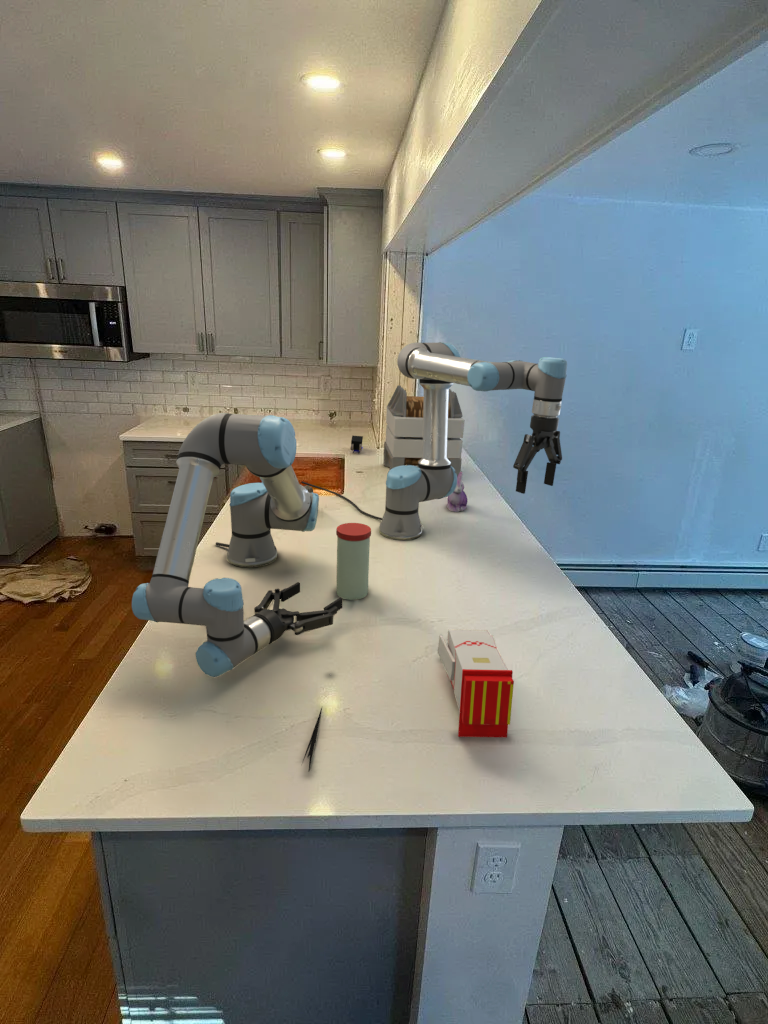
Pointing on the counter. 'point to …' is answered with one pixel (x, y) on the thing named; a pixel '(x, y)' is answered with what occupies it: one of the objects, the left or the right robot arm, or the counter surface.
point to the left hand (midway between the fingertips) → (319, 594)
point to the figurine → (457, 496)
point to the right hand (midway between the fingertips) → (534, 488)
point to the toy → (478, 682)
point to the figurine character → (356, 443)
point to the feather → (313, 740)
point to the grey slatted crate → (418, 430)
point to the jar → (352, 568)
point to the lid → (353, 531)
